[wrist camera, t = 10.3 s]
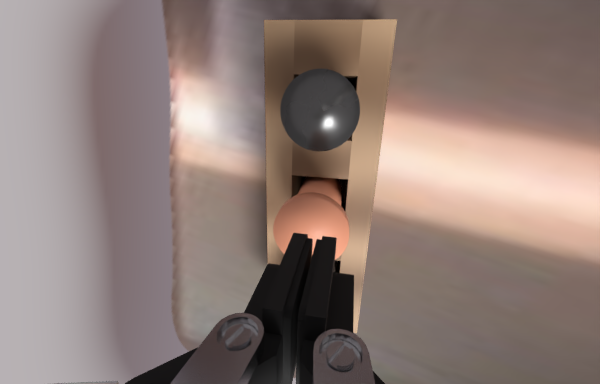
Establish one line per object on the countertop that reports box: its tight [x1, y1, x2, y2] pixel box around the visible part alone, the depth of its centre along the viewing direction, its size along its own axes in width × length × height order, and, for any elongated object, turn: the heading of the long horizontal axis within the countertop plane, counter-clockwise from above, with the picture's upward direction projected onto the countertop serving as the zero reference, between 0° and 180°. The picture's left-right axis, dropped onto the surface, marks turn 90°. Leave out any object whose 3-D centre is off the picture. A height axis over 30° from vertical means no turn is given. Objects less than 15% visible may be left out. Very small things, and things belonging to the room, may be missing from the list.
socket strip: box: [264, 19, 397, 333], centre depth 21 cm, size 21×7×5 cm, turn 179°
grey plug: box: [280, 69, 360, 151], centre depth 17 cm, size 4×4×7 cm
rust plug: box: [273, 176, 349, 260], centre depth 18 cm, size 4×4×7 cm
